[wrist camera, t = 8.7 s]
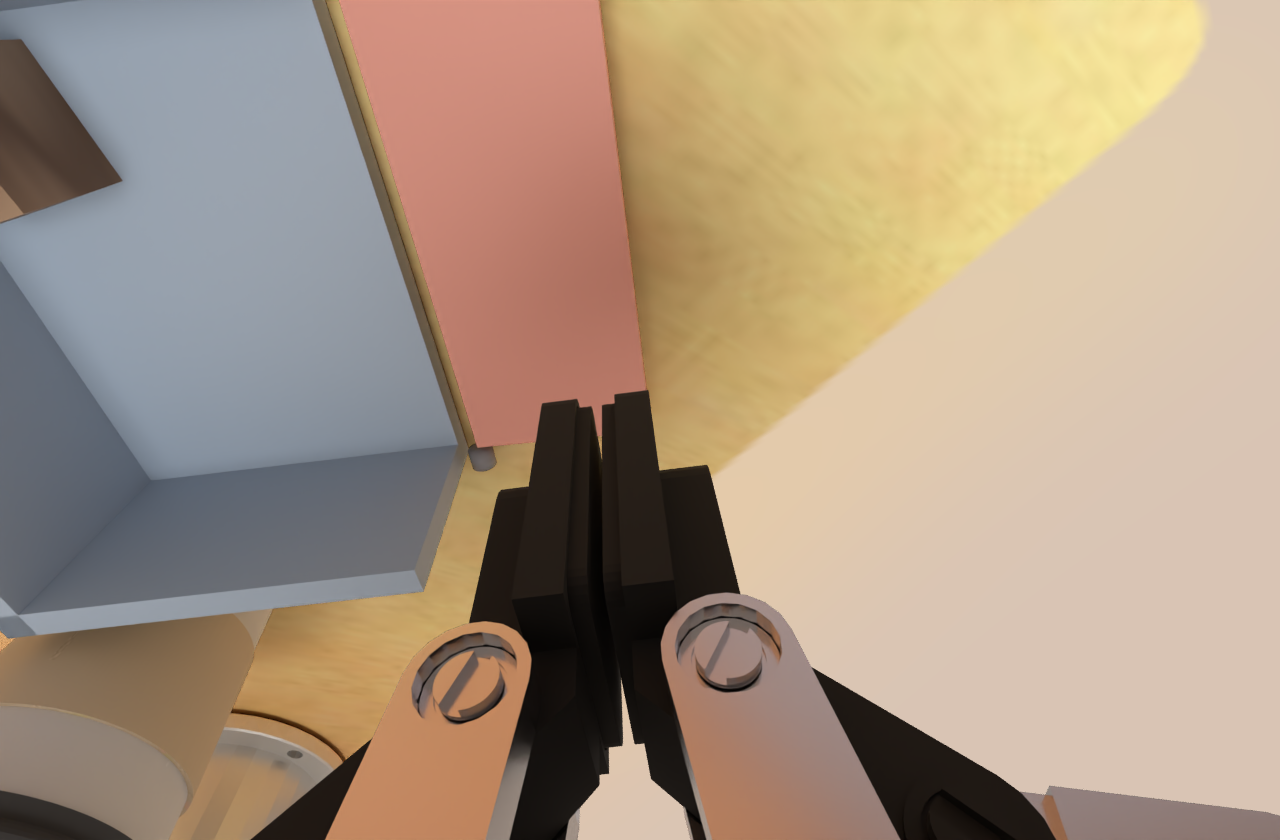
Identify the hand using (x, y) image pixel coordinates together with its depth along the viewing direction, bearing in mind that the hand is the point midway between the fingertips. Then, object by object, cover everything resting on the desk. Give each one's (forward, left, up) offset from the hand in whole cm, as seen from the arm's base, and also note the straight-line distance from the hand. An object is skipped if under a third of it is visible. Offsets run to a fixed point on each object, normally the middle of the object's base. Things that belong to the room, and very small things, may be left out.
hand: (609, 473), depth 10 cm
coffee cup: (-14, +21, -15) cm, 29 cm away
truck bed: (0, +14, -14) cm, 20 cm away
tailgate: (0, +6, -13) cm, 15 cm away
